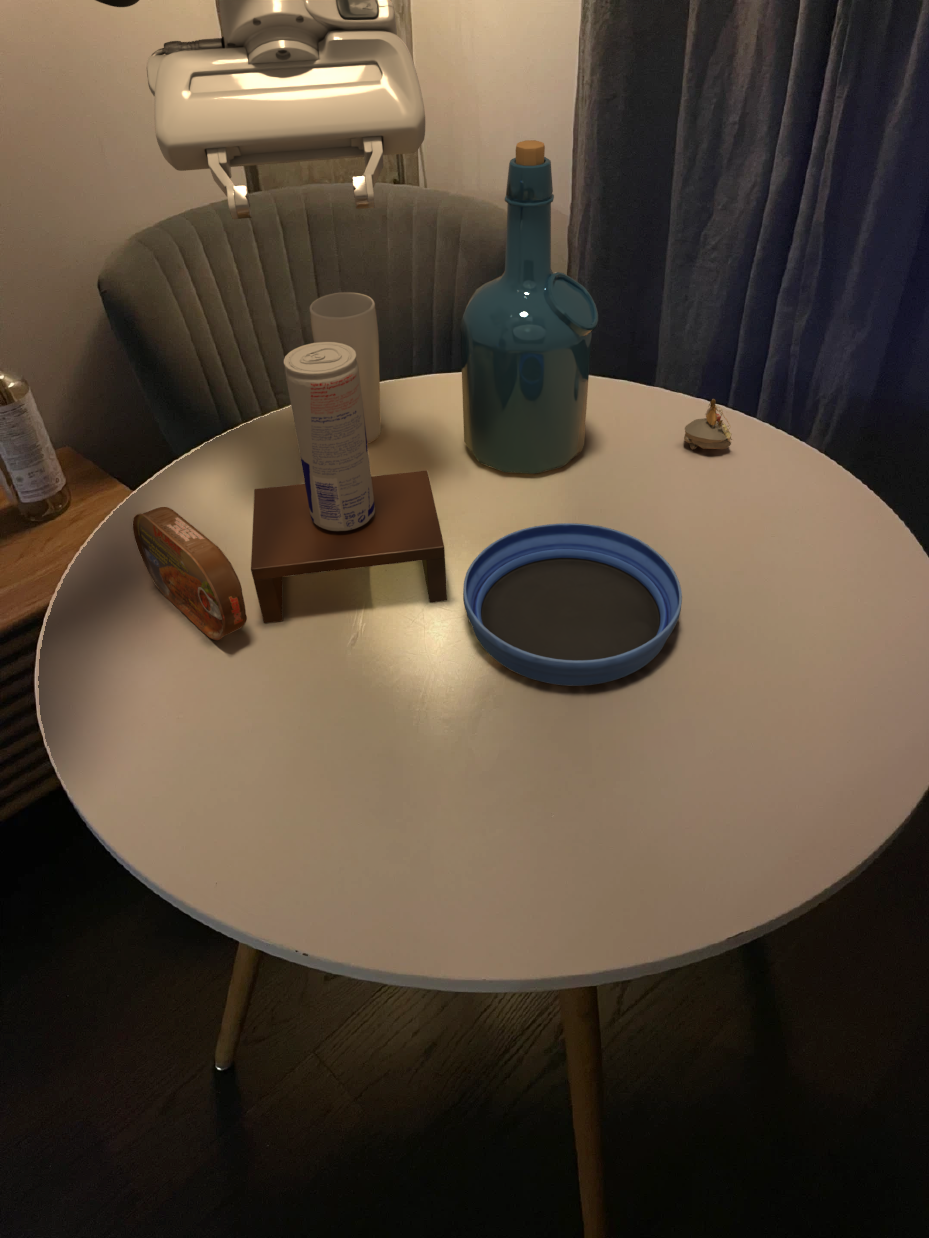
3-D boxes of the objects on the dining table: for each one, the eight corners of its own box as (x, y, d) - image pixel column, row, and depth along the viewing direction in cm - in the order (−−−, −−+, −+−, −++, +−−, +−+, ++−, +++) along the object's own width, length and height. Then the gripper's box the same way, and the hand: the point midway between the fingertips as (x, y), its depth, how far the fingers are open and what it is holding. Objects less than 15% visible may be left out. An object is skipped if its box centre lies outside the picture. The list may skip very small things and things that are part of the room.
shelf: (263, 623, 76) (250, 569, 72) (266, 541, 85) (254, 488, 81) (447, 601, 78) (444, 546, 74) (430, 522, 87) (427, 469, 83)
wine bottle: (444, 465, 94) (428, 158, 74) (490, 407, 103) (487, 119, 83) (567, 490, 90) (586, 172, 70) (604, 428, 99) (629, 130, 79)
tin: (144, 576, 82) (117, 500, 76) (174, 561, 83) (151, 486, 78) (229, 659, 73) (206, 580, 68) (261, 640, 75) (242, 562, 69)
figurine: (675, 449, 95) (683, 399, 91) (691, 431, 98) (699, 381, 94) (722, 463, 93) (732, 411, 89) (737, 444, 96) (748, 393, 92)
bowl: (719, 617, 75) (727, 585, 73) (578, 730, 66) (581, 698, 64) (562, 528, 85) (564, 497, 83) (421, 616, 76) (418, 585, 74)
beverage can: (388, 508, 78) (371, 348, 68) (350, 542, 75) (327, 378, 65) (337, 491, 80) (313, 333, 70) (298, 523, 77) (267, 362, 67)
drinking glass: (374, 455, 96) (359, 321, 86) (317, 446, 98) (296, 314, 88) (397, 425, 101) (385, 295, 91) (343, 416, 103) (326, 288, 93)
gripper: (131, 14, 64) (153, 199, 63) (412, -3, 66) (436, 176, 65) (154, 72, 70) (174, 241, 70) (410, 55, 72) (432, 220, 72)
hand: (303, 210), depth 68 cm, fingers open, 8 cm apart
